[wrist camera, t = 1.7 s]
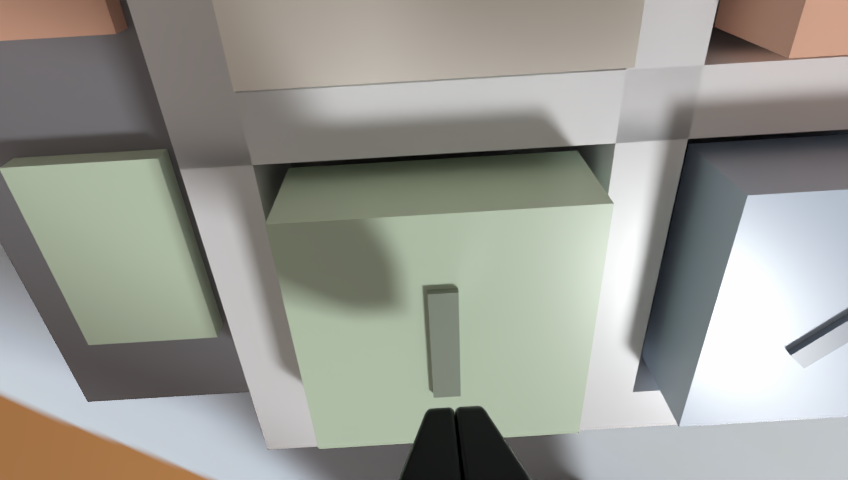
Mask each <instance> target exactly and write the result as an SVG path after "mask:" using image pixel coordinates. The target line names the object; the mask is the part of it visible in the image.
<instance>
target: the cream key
mask: <svg viewBox="0 0 848 480" xmlns="http://www.w3.org/2000/svg"><path fill="white" fill-rule="evenodd" d="M212 3H213V7H214V11H215V16H216V20H217V24H218V28H219V32H220V37H221V41H222V45H223V49H224V54H225V58H226V62H227V66H228V70H229V75H230V79H231V83H232V87H233V91H234V92H235V91H252V90H269V89H285V88H302V87H319V86H335V85H352V84H369V83H386V82H402V81H419V80H436V79H452V78H469V77H486V76H503V75H519V74H536V73H553V72H569V71H586V70H603V69H619V68H635V62H636V56H637V49H638V43H639V36H640V30H641V23H642V16H643V10H644V3H645V0H212Z"/></svg>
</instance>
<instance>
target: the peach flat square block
mask: <svg viewBox="0 0 848 480" xmlns="http://www.w3.org/2000/svg"><path fill="white" fill-rule="evenodd" d="M714 27H716V28H718V29H720V30H723V31H725V32H727V33H730V34H732V35H735V36H737V37H739V38H742V39H744V40H746V41H749V42H751V43H753V44H756V45H758V46H761V47H763V48H765V49H768V50H770V51H772V52H775V53H777V54H779V55H782V56H784V57H787V58H803V57H820V56H837V55H848V0H720V3H719V8H718V12H717V17H716V22H715V26H714Z"/></svg>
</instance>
